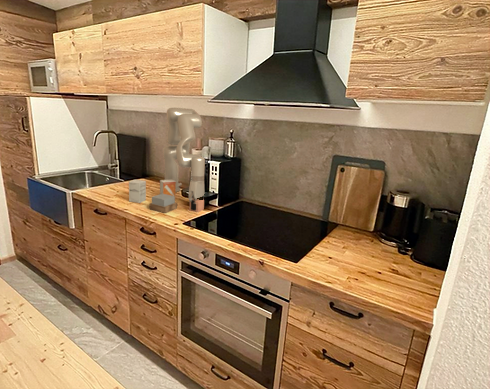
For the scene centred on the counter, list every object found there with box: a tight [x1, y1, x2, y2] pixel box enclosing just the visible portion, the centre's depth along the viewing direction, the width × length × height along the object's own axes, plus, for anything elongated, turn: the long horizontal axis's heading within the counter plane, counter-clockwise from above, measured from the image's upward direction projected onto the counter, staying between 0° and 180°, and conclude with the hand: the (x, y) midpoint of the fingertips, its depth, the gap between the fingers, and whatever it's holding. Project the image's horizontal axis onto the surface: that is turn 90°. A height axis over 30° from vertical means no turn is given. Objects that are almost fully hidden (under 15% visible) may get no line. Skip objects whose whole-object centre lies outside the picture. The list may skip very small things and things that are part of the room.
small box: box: [159, 179, 177, 197], centre depth 186 cm, size 8×6×13 cm
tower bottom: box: [149, 201, 178, 214], centre depth 172 cm, size 11×11×4 cm
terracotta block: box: [188, 199, 205, 213], centre depth 174 cm, size 6×6×6 cm
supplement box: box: [128, 179, 147, 204], centre depth 181 cm, size 7×7×13 cm
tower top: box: [151, 193, 176, 207], centre depth 171 cm, size 9×9×4 cm
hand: (196, 208), depth 175 cm, fingers closed on terracotta block, 6 cm apart
